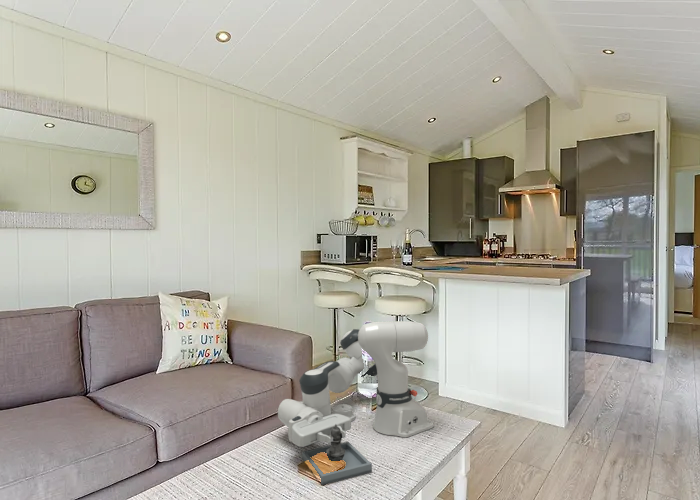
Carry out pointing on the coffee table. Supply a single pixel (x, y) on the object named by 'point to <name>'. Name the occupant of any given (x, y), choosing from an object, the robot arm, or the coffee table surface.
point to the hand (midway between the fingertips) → (337, 437)
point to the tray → (353, 468)
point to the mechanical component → (344, 411)
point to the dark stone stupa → (335, 446)
